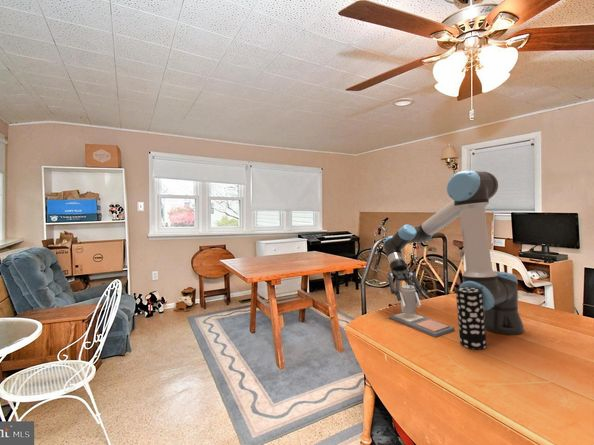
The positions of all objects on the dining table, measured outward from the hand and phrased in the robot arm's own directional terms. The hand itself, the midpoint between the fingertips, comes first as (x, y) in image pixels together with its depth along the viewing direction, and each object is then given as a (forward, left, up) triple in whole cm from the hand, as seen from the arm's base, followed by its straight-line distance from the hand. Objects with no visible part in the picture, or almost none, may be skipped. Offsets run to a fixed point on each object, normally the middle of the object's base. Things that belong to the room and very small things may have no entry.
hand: (411, 306), depth 126 cm
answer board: (-3, -2, -7) cm, 8 cm away
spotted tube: (-26, -2, -7) cm, 27 cm away
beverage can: (+3, -2, -4) cm, 6 cm away
